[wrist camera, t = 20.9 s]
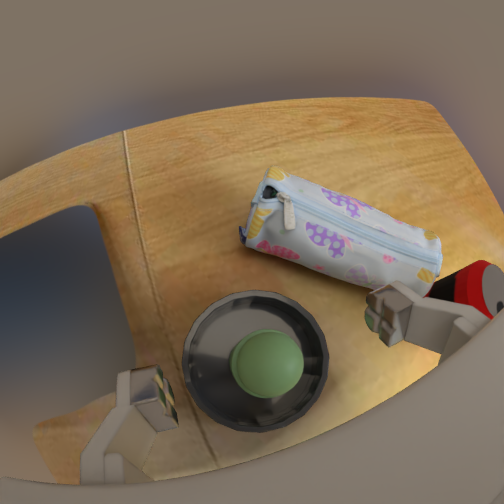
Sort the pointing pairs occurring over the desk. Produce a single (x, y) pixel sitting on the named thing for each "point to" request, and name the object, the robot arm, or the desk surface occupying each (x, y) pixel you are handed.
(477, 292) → the soda can
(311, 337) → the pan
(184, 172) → the desk surface
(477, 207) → the desk surface
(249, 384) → the green dome-topped cylinder
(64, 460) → the desk surface
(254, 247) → the pencil case
